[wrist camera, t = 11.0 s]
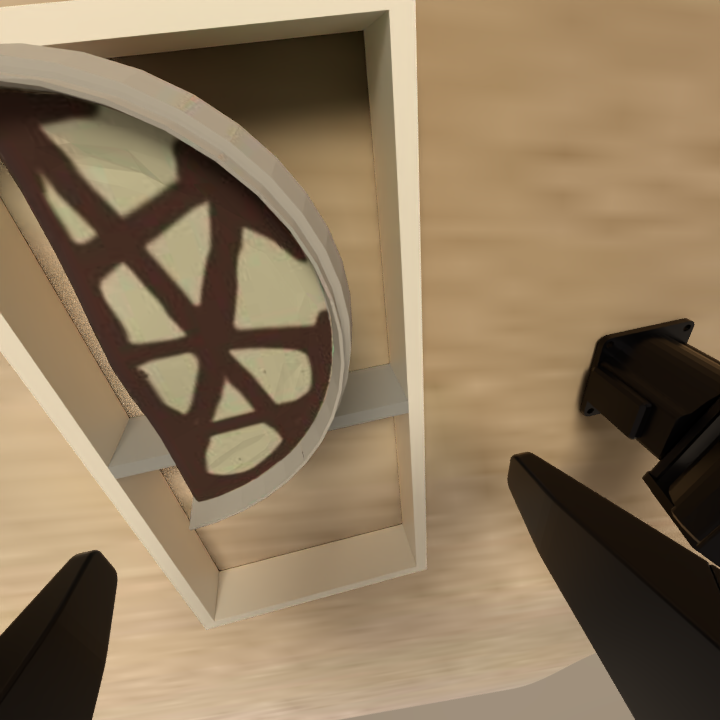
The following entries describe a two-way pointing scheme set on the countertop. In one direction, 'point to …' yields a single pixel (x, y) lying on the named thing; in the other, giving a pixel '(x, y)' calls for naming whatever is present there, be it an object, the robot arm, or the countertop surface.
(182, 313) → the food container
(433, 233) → the countertop surface
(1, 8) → the divided tray
